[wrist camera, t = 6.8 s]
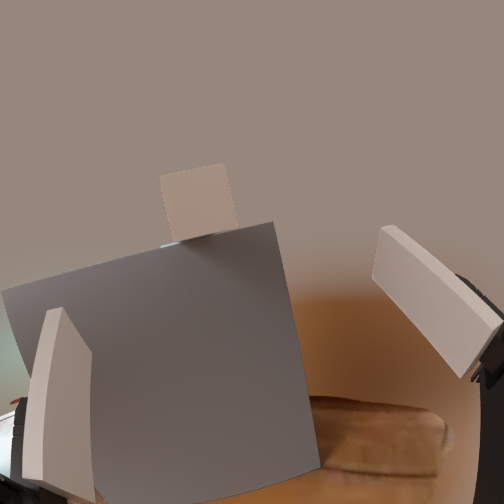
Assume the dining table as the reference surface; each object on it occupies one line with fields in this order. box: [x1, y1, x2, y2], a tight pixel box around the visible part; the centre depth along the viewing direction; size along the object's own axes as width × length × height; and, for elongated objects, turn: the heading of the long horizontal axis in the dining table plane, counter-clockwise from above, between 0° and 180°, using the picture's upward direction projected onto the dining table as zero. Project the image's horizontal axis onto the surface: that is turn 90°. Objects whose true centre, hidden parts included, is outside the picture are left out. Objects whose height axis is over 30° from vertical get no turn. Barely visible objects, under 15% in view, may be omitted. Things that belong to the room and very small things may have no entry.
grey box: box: [1, 222, 321, 504], centre depth 33 cm, size 20×26×29 cm
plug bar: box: [159, 163, 239, 242], centre depth 27 cm, size 28×3×3 cm, turn 14°
